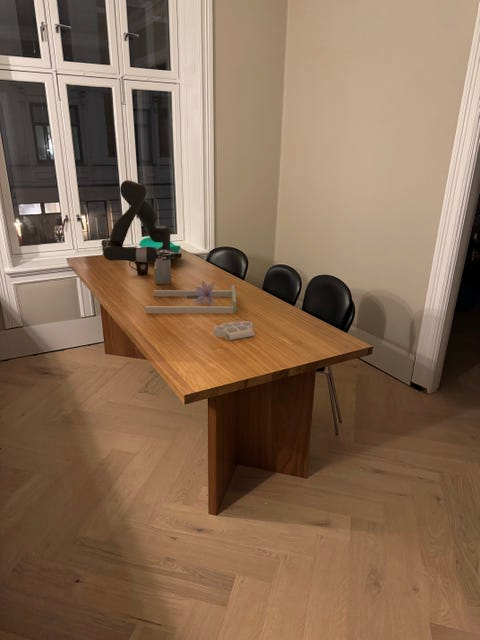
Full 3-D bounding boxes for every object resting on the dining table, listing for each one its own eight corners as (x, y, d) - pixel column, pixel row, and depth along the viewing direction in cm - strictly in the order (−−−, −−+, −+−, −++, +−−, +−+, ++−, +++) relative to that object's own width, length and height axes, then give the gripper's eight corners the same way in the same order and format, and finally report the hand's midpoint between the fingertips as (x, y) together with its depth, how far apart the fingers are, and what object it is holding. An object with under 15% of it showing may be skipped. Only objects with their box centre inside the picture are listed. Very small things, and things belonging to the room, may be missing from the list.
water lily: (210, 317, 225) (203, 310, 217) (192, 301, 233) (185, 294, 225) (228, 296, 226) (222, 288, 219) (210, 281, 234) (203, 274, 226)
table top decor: (133, 256, 323) (132, 238, 318) (169, 252, 335) (168, 235, 331) (150, 268, 291) (149, 248, 286) (188, 264, 303) (188, 245, 298)
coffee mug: (151, 272, 280) (150, 257, 276) (147, 276, 272) (146, 260, 268) (133, 271, 281) (132, 256, 277) (129, 275, 273) (128, 259, 269)
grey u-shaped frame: (146, 313, 209) (145, 301, 207) (154, 295, 235) (153, 284, 233) (236, 313, 211) (236, 301, 209) (234, 295, 237) (234, 285, 235)
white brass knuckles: (223, 343, 178) (209, 331, 190) (261, 336, 186) (245, 325, 198) (223, 336, 177) (209, 324, 189) (261, 329, 184) (245, 318, 197)
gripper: (145, 249, 206) (181, 251, 208) (147, 243, 218) (181, 245, 220) (145, 265, 209) (181, 266, 211) (147, 258, 221) (181, 259, 223)
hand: (181, 255), depth 216 cm, fingers closed
